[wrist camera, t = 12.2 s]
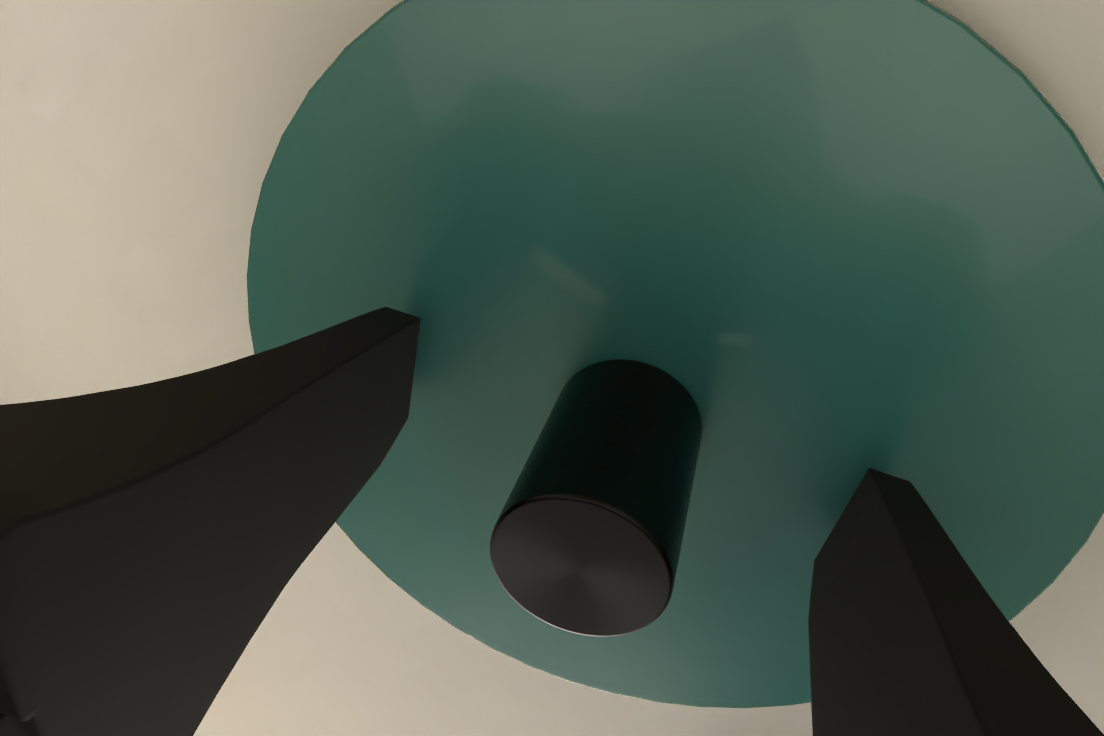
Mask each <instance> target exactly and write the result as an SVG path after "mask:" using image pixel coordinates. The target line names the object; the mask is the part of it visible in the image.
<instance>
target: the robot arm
mask: <svg viewBox="0 0 1104 736" xmlns="http://www.w3.org/2000/svg"><path fill="white" fill-rule="evenodd" d="M420 321H421V318H419V317H416V316H413V315H410V314H407V313H404V312H401V311H398V310H395V309H392V308H389V307H383V308H380V309H376V310H373V311H371V312H368V313H365V314H363V315H360V316H357V317H355V318H352V319H350V320H347V321H344V322H342V323H339V324H337V325H334V326H332V327H329V328H327V329H324V330H321V331H319V332H316V333H313V334H311V335H308V336H305V337H303V338H300V339H297V340H295V341H292V342H290V343H287V344H284V345H281V346H279V347H276V348H272V349H269V350H266V351H263V352H260V353H257V354H254V355H251V356H248V357H245V358H242V359H239V360H236V361H233V362H230V363H227V364H224V365H220V366H217V367H213V368H210V369H206V370H203V371H199V372H195V373H191V374H187V375H183V376H179V377H175V378H170V379H166V380H162V381H158V382H153V383H149V384H144V385H139V386H134V387H128V388H122V389H116V390H110V391H104V392H98V393H92V394H86V395H80V396H74V397H68V398H61V399H53V400H44V401H36V402H27V403H18V404H7V405H0V736H193V735H194V733H195V731H196V730H197V728H198V726H199V724H200V723H201V721H202V719H203V717H204V716H205V714H206V712H207V711H208V709H209V707H210V705H211V704H212V702H213V700H214V699H215V697H216V695H217V693H218V692H219V690H220V689H221V687H222V685H223V684H224V682H225V680H226V679H227V677H228V676H229V674H230V672H231V671H232V669H233V667H234V666H235V664H236V662H237V661H238V659H239V658H240V656H241V654H242V653H243V651H244V649H245V648H246V646H247V645H248V643H249V641H250V640H251V638H252V637H253V635H254V633H255V632H256V630H257V629H258V627H259V626H260V624H261V623H262V621H263V619H264V618H265V616H266V615H267V613H268V612H269V610H270V609H271V607H272V605H273V604H274V602H275V601H276V599H277V598H278V596H279V595H280V593H281V591H282V590H283V588H284V587H285V586H286V584H287V583H288V581H289V580H290V579H291V577H292V576H293V575H294V573H295V572H296V571H297V569H298V568H299V566H300V565H301V564H302V563H303V561H304V560H305V559H306V558H307V556H308V555H309V554H310V553H311V551H312V550H313V549H314V548H315V546H316V545H317V544H318V543H319V541H320V540H321V539H322V538H323V536H324V535H325V534H326V533H327V532H328V530H329V529H330V528H331V527H332V525H333V524H334V523H335V522H336V520H337V519H338V518H339V517H340V515H341V514H342V513H343V512H344V510H345V509H346V508H347V507H348V505H349V504H350V503H351V502H352V500H353V499H354V498H355V497H356V495H357V494H358V493H359V492H360V490H361V489H362V488H363V487H364V485H365V484H366V483H367V482H368V480H369V479H370V478H371V476H372V475H373V474H374V473H375V471H376V470H377V469H378V467H379V466H380V465H381V463H382V461H383V460H384V458H385V457H386V455H387V453H388V452H389V450H390V448H391V447H392V445H393V443H394V442H395V440H396V438H397V437H398V435H399V433H400V431H401V430H402V428H403V426H404V424H405V423H406V421H407V419H408V416H409V408H410V400H411V392H412V384H413V376H414V368H415V360H416V353H417V345H418V337H419V329H420ZM808 632H809V660H810V683H811V704H812V726H813V736H1104V734H1103V733H1102V732H1101V731H1100V730H1099V729H1098V728H1097V727H1096V725H1095V724H1094V723H1093V722H1092V721H1091V720H1090V719H1089V718H1088V716H1087V715H1086V714H1085V713H1084V712H1083V711H1082V710H1081V709H1080V708H1079V706H1078V705H1077V704H1076V703H1075V702H1074V701H1073V700H1072V699H1071V697H1070V696H1069V695H1068V694H1067V693H1066V692H1065V691H1064V690H1063V689H1062V687H1061V686H1060V685H1059V684H1058V683H1057V682H1056V680H1055V679H1054V678H1053V677H1052V676H1051V674H1050V673H1049V672H1048V671H1047V670H1046V668H1045V667H1044V666H1043V665H1042V664H1041V662H1040V661H1039V660H1038V659H1037V657H1036V656H1035V655H1034V653H1033V652H1032V651H1031V650H1030V648H1029V647H1028V646H1027V645H1026V643H1025V642H1024V641H1023V639H1022V638H1021V637H1020V636H1019V634H1018V633H1017V632H1016V630H1015V629H1014V628H1013V627H1012V625H1011V624H1010V623H1009V622H1008V620H1007V619H1006V617H1005V616H1004V615H1003V613H1002V612H1001V611H1000V609H999V608H998V607H997V605H996V604H995V603H994V601H993V600H992V598H991V597H990V596H989V594H988V593H987V591H986V590H985V589H984V587H983V586H982V584H981V583H980V582H979V580H978V579H977V577H976V576H975V574H974V573H973V572H972V570H971V569H970V567H969V566H968V564H967V563H966V561H965V560H964V559H963V557H962V556H961V554H960V553H959V551H958V550H957V548H956V547H955V545H954V544H953V542H952V541H951V539H950V538H949V536H948V535H947V533H946V532H945V530H944V529H943V527H942V526H941V524H940V523H939V522H938V520H937V519H936V517H935V516H934V514H933V513H932V511H931V510H930V508H929V507H928V505H927V504H926V502H925V501H924V499H923V498H922V497H921V495H920V494H919V492H918V491H917V490H916V488H915V487H914V486H913V485H912V483H911V482H910V481H907V480H904V479H901V478H898V477H895V476H892V475H889V474H886V473H883V472H880V471H877V470H874V469H871V468H868V470H867V472H866V474H865V475H864V477H863V479H862V480H861V482H860V484H859V485H858V487H857V489H856V490H855V492H854V494H853V496H852V497H851V499H850V501H849V502H848V504H847V506H846V507H845V509H844V511H843V512H842V514H841V516H840V518H839V519H838V521H837V523H836V524H835V526H834V528H833V529H832V531H831V533H830V534H829V536H828V538H827V540H826V541H825V543H824V545H823V546H822V548H821V550H820V551H819V553H818V555H817V556H816V558H815V560H814V567H813V575H812V584H811V593H810V604H809V616H808Z"/></svg>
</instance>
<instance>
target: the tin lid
mask: <svg viewBox="0 0 1104 736" xmlns="http://www.w3.org/2000/svg"><path fill="white" fill-rule="evenodd" d="M247 289H248V311H249V325H250V330H251V336H252V342H253V347H254V353H255V354H257V353H260V352H263V351H266V350H269V349H272V348H276V347H279V346H281V345H284V344H287V343H290V342H292V341H295V340H297V339H300V338H303V337H305V336H308V335H311V334H313V333H316V332H319V331H321V330H324V329H327V328H329V327H332V326H334V325H337V324H339V323H342V322H344V321H347V320H350V319H352V318H355V317H357V316H360V315H363V314H365V313H368V312H371V311H373V310H376V309H380V308H383V307H389V308H392V309H395V310H398V311H401V312H404V313H407V314H410V315H413V316H416V317H419V318H421V321H420V329H419V337H418V345H417V353H416V360H415V368H414V376H413V384H412V392H411V400H410V408H409V416H408V419H407V421H406V423H405V424H404V426H403V428H402V430H401V431H400V433H399V435H398V437H397V438H396V440H395V442H394V443H393V445H392V447H391V448H390V450H389V452H388V453H387V455H386V457H385V458H384V460H383V461H382V463H381V465H380V466H379V467H378V469H377V470H376V471H375V473H374V474H373V475H372V476H371V478H370V479H369V480H368V482H367V483H366V484H365V485H364V487H363V488H362V489H361V490H360V492H359V493H358V494H357V495H356V497H355V498H354V499H353V500H352V502H351V503H350V504H349V505H348V507H347V508H346V509H345V510H344V512H343V513H342V514H341V515H340V517H339V518H338V519H337V520H336V523H337V524H338V525H339V526H340V528H341V529H342V530H343V531H344V532H345V533H346V535H347V536H348V537H349V538H350V539H351V540H352V542H353V543H354V544H355V545H356V546H357V547H358V549H359V550H361V551H362V552H363V553H364V554H365V555H366V556H367V557H368V558H369V559H370V560H371V561H372V562H373V563H374V564H375V565H376V566H377V567H378V568H379V569H380V570H381V571H382V572H383V573H384V574H385V575H386V576H387V577H388V578H390V579H391V580H392V581H393V582H394V583H396V584H397V585H398V586H399V587H401V588H402V589H403V590H404V591H405V592H407V593H408V594H409V595H410V596H412V597H413V598H414V599H415V600H417V601H418V602H419V603H420V604H422V605H423V606H424V607H426V608H427V609H429V610H430V611H432V612H433V613H435V614H436V615H438V616H439V617H441V618H442V619H443V620H445V621H446V622H448V623H449V624H451V625H452V626H454V627H455V628H457V629H459V630H460V631H462V632H464V633H466V634H467V635H469V636H471V637H473V638H474V639H476V640H478V641H480V642H481V643H483V644H485V645H487V646H489V647H490V648H492V649H494V650H496V651H498V652H501V653H503V654H505V655H507V656H509V657H511V658H513V659H516V660H518V661H520V662H522V663H524V664H526V665H528V666H531V667H533V668H536V669H539V670H541V671H544V672H547V673H549V674H552V675H555V676H557V677H560V678H563V679H565V680H568V681H571V682H574V683H578V684H581V685H585V686H588V687H592V688H595V689H599V690H602V691H606V692H610V693H613V694H618V695H623V696H628V697H633V698H639V699H644V700H649V701H654V702H661V703H670V704H679V705H688V706H697V707H724V708H754V707H770V706H785V705H795V704H802V703H808V702H811V683H810V660H809V632H808V616H809V604H810V593H811V584H812V575H813V567H814V560H815V558H816V556H817V555H818V553H819V551H820V550H821V548H822V546H823V545H824V543H825V541H826V540H827V538H828V536H829V534H830V533H831V531H832V529H833V528H834V526H835V524H836V523H837V521H838V519H839V518H840V516H841V514H842V512H843V511H844V509H845V507H846V506H847V504H848V502H849V501H850V499H851V497H852V496H853V494H854V492H855V490H856V489H857V487H858V485H859V484H860V482H861V480H862V479H863V477H864V475H865V474H866V472H867V470H868V468H871V469H874V470H877V471H880V472H883V473H886V474H889V475H892V476H895V477H898V478H901V479H904V480H907V481H910V482H911V483H912V485H913V486H914V487H915V488H916V490H917V491H918V492H919V494H920V495H921V497H922V498H923V499H924V501H925V502H926V504H927V505H928V507H929V508H930V510H931V511H932V513H933V514H934V516H935V517H936V519H937V520H938V522H939V523H940V524H941V526H942V527H943V529H944V530H945V532H946V533H947V535H948V536H949V538H950V539H951V541H952V542H953V544H954V545H955V547H956V548H957V550H958V551H959V553H960V554H961V556H962V557H963V559H964V560H965V561H966V563H967V564H968V566H969V567H970V569H971V570H972V572H973V573H974V574H975V576H976V577H977V579H978V580H979V582H980V583H981V584H982V586H983V587H984V589H985V590H986V591H987V593H988V594H989V596H990V597H991V598H992V600H993V601H994V603H995V604H996V605H997V607H998V608H999V609H1000V611H1001V612H1002V613H1003V615H1004V616H1005V617H1006V619H1007V620H1008V621H1010V620H1011V619H1013V618H1014V617H1015V616H1016V615H1018V614H1019V613H1020V612H1021V611H1022V610H1023V609H1024V608H1025V607H1026V606H1027V605H1029V604H1030V603H1031V602H1032V601H1033V600H1034V599H1035V598H1036V597H1037V596H1039V595H1040V594H1041V593H1042V592H1043V591H1044V590H1045V589H1046V588H1047V587H1049V586H1050V585H1051V584H1052V583H1053V582H1054V580H1055V579H1056V578H1057V577H1058V576H1059V574H1060V573H1061V572H1062V571H1063V570H1064V568H1065V567H1066V566H1067V565H1068V564H1069V562H1070V561H1071V560H1072V559H1073V558H1074V556H1075V555H1076V554H1077V553H1078V551H1079V550H1080V549H1081V548H1082V547H1083V545H1084V544H1085V543H1086V542H1087V540H1088V538H1089V537H1090V535H1091V533H1092V531H1093V530H1094V528H1095V526H1096V525H1097V523H1098V521H1099V520H1100V518H1101V516H1102V515H1103V513H1104V182H1103V180H1102V179H1101V177H1100V175H1099V174H1098V172H1097V170H1096V169H1095V167H1094V165H1093V164H1092V162H1091V160H1090V159H1089V157H1088V155H1087V154H1086V152H1085V150H1084V149H1083V147H1082V145H1081V144H1080V142H1079V140H1078V138H1077V137H1076V135H1075V133H1074V132H1073V130H1072V129H1071V128H1070V127H1069V126H1068V125H1067V123H1066V122H1065V121H1064V120H1063V119H1062V118H1061V116H1060V115H1059V114H1058V113H1057V112H1056V111H1055V109H1054V108H1053V107H1052V106H1051V105H1050V104H1049V102H1048V101H1047V100H1046V99H1045V98H1044V97H1043V95H1042V94H1041V93H1040V92H1039V91H1038V90H1037V88H1036V87H1035V86H1034V85H1033V84H1032V83H1031V81H1030V80H1029V79H1028V78H1027V77H1026V76H1025V75H1024V73H1023V72H1021V71H1020V70H1019V69H1018V68H1017V67H1015V66H1014V65H1013V64H1012V63H1011V62H1009V61H1008V60H1007V59H1006V58H1005V57H1003V56H1002V55H1001V54H1000V53H999V52H997V51H996V50H995V49H994V48H993V47H991V46H990V45H989V44H988V43H987V42H985V41H984V40H983V39H982V38H981V37H979V36H978V35H977V34H976V33H975V32H973V31H972V30H971V29H970V28H969V27H967V26H966V25H965V24H964V23H963V22H961V21H960V20H958V19H957V18H955V17H953V16H952V15H950V14H948V13H947V12H945V11H943V10H942V9H940V8H938V7H937V6H935V5H933V4H932V3H930V2H928V1H926V0H404V1H403V2H401V3H399V4H398V5H396V6H394V7H393V8H391V9H390V10H389V11H388V12H387V13H385V14H384V15H383V16H382V17H381V18H380V19H378V20H377V21H376V22H375V23H374V24H372V25H371V26H370V27H369V28H368V29H367V30H365V31H364V32H363V33H362V34H361V35H360V36H358V37H357V38H356V39H355V40H354V41H353V42H351V43H350V44H349V45H348V46H347V47H346V48H345V49H344V50H343V51H342V52H341V54H340V55H339V56H338V57H337V58H336V60H335V61H334V62H333V63H332V64H331V65H330V67H329V68H328V69H327V70H326V71H325V72H324V74H323V75H322V76H321V77H320V78H319V80H318V81H317V82H316V83H315V84H314V85H313V87H312V88H311V89H310V90H309V92H308V94H307V95H306V97H305V98H304V100H303V102H302V103H301V105H300V107H299V108H298V110H297V112H296V113H295V115H294V117H293V118H292V120H291V122H290V123H289V125H288V127H287V128H286V130H285V132H284V133H283V135H282V137H281V139H280V142H279V144H278V147H277V149H276V152H275V154H274V157H273V159H272V161H271V164H270V166H269V169H268V171H267V174H266V176H265V179H264V181H263V183H262V188H261V192H260V196H259V200H258V204H257V208H256V212H255V217H254V221H253V225H252V229H251V238H250V249H249V260H248V271H247Z"/></svg>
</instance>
